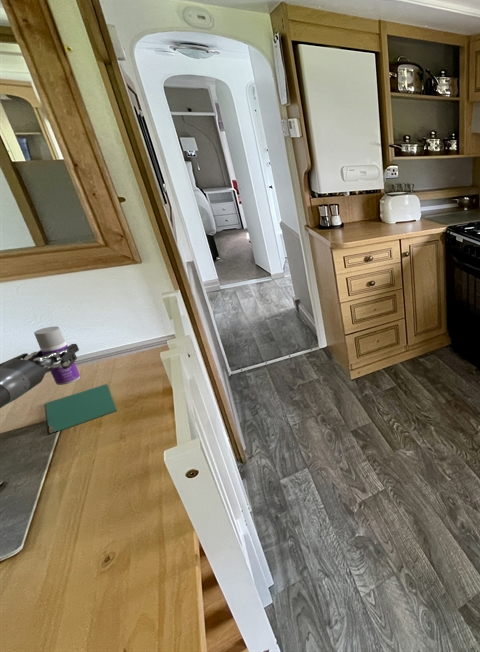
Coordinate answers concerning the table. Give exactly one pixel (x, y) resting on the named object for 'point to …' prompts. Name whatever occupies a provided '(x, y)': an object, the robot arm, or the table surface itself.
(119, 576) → the table surface
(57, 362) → the robot arm
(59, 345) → the container
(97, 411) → the napkin
